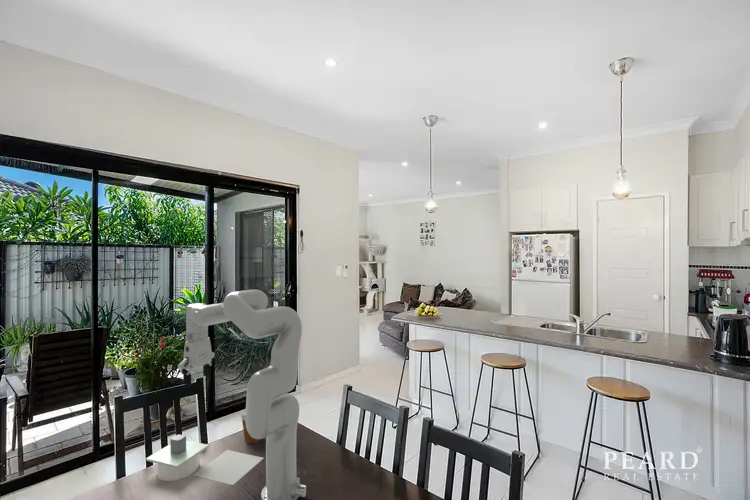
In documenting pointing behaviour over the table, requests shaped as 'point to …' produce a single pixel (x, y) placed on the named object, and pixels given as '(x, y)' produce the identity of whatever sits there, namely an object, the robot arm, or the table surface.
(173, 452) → the lid
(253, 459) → the mat
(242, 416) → the disposable coffee cup
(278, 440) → the robot arm
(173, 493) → the table surface
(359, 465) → the table surface
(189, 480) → the table surface
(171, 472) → the bowl
